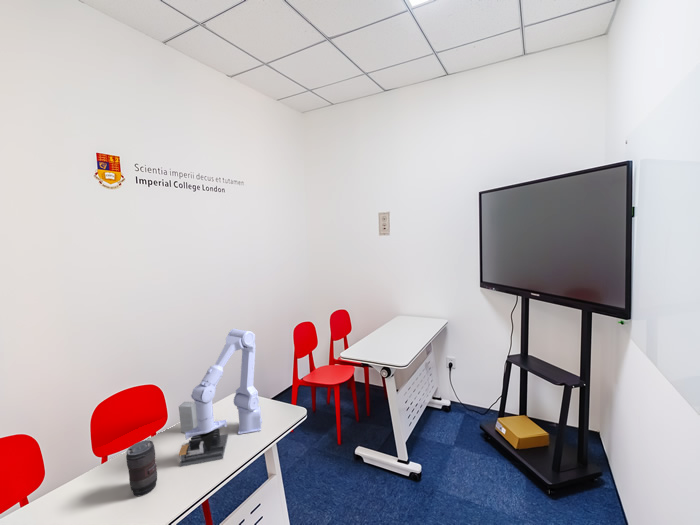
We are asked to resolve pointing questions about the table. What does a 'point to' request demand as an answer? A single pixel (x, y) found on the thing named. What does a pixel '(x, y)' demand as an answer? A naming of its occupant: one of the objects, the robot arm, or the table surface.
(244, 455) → the table surface
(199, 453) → the clip
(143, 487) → the camera lens
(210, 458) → the heatsink
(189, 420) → the skincare box
